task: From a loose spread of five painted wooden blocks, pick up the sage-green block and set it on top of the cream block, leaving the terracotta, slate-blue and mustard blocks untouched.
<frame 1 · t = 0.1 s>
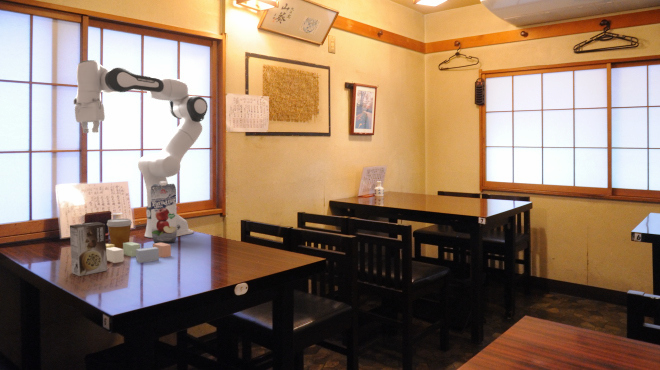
hand: (90, 132, 197), 48 cm above the table, tool pointing down, fingers open, 8 cm apart
food box: (89, 272, 156), on the table
green block: (131, 255, 182), on the table
cream block: (114, 261, 172), on the table
terracotta block: (161, 255, 181), on the table
slate block: (147, 261, 173), on the table
juice carton: (164, 242, 208), on the table
disposable coffee cup: (120, 249, 193), on the table
mustard block: (104, 256, 180), on the table
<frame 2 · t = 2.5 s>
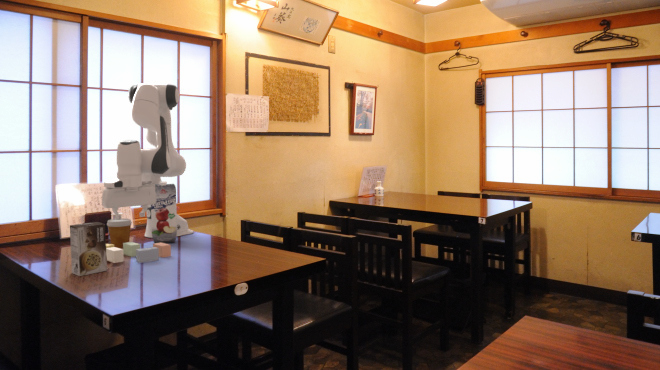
hand: (130, 217, 181), 14 cm above the table, tool pointing down, fingers open, 8 cm apart
nothing on the table moved.
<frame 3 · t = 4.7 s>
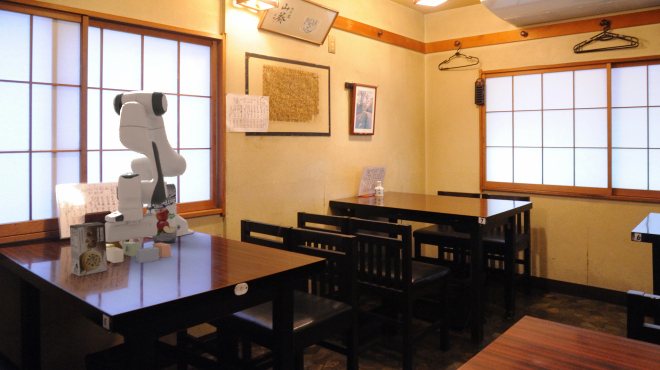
hand: (131, 250, 182), 2 cm above the table, tool pointing down, fingers closed on green block, 3 cm apart
green block: (131, 254, 182), on the table, touching gripper
everything else where it was.
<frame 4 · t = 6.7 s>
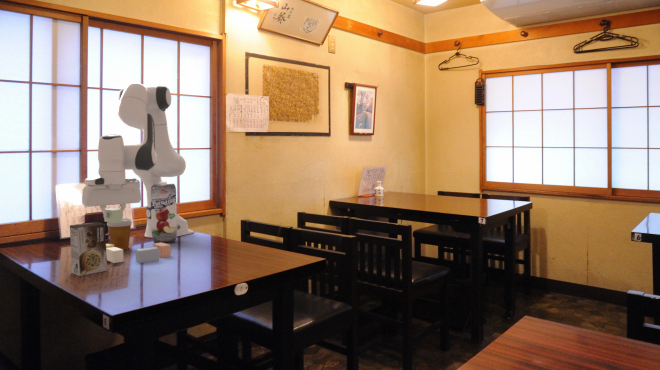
hand: (113, 217, 171), 16 cm above the table, tool pointing down, fingers closed on green block, 3 cm apart
green block: (113, 221, 171), point 14 cm above the table, touching gripper
everything else where it was.
when the fingers open (7 cm above the table, at t = 8.9 s): green block drops 1 cm, resting on cream block.
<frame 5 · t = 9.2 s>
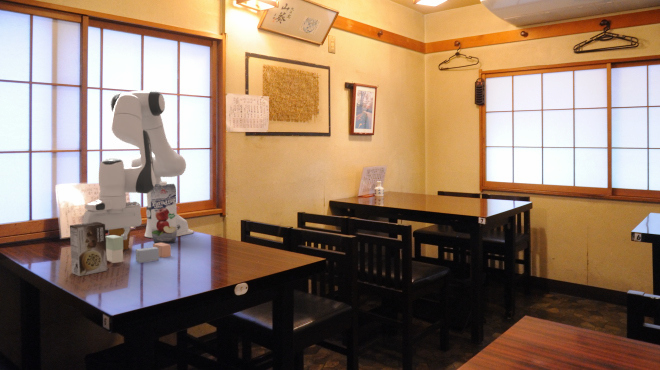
hand: (114, 241, 172), 7 cm above the table, tool pointing down, fingers open, 6 cm apart
green block: (114, 248, 172), point 4 cm above the table, touching cream block
cream block: (114, 260, 172), on the table, touching green block
everything else where it was.
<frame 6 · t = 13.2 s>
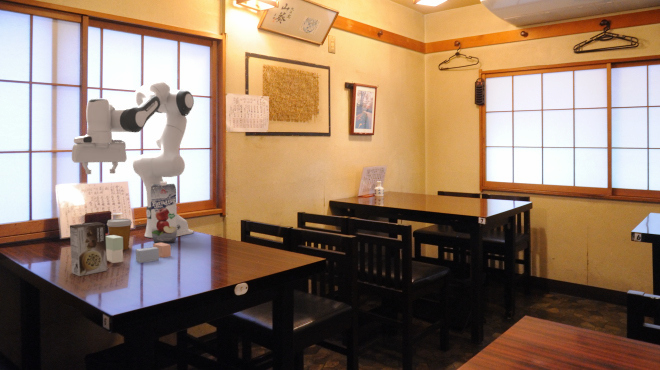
hand: (100, 173, 187), 31 cm above the table, tool pointing down, fingers open, 8 cm apart
nothing on the table moved.
at the end: green block 0.0 cm off-centre on the cream block, point 4.5 cm above the cream block's base; cream block moved 0.1 cm from its start; slate block moved 0.2 cm from its start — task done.
